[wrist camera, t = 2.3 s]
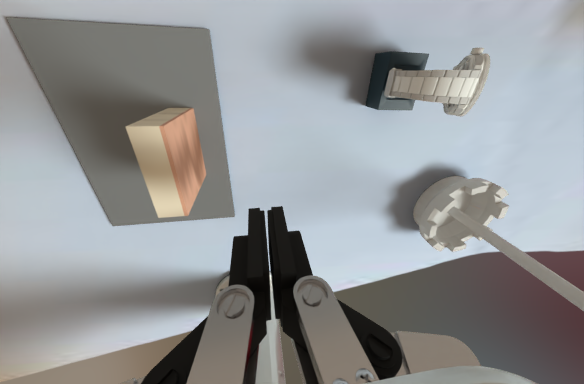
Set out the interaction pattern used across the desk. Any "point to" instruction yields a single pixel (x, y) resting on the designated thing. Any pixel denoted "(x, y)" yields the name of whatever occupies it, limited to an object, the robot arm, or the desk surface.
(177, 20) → the desk surface
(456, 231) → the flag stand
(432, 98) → the watch
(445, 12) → the desk surface
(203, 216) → the mat
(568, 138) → the desk surface
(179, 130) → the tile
